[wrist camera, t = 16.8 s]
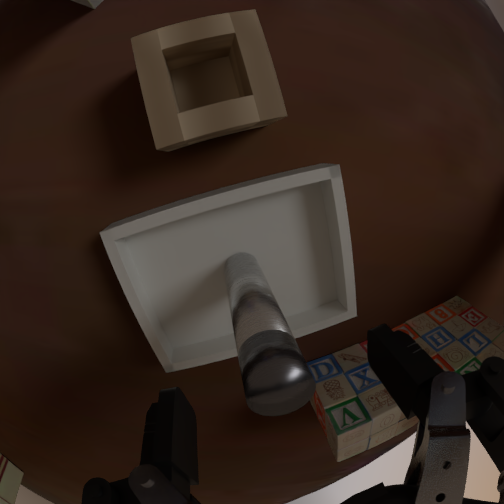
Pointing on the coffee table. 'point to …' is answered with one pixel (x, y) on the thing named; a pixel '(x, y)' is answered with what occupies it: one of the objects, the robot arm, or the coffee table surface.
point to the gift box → (9, 481)
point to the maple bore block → (207, 79)
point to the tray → (225, 245)
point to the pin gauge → (264, 342)
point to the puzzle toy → (89, 3)
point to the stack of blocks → (373, 391)
